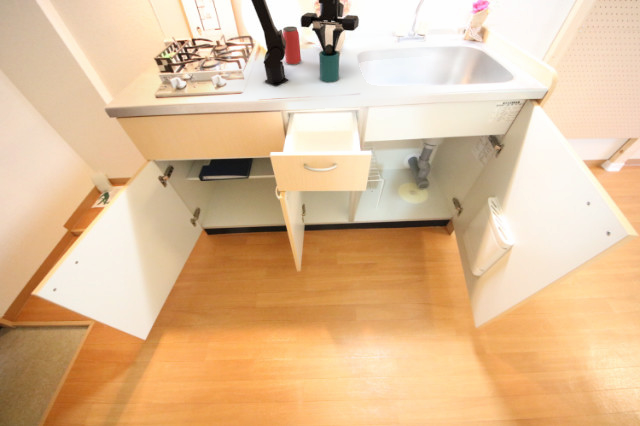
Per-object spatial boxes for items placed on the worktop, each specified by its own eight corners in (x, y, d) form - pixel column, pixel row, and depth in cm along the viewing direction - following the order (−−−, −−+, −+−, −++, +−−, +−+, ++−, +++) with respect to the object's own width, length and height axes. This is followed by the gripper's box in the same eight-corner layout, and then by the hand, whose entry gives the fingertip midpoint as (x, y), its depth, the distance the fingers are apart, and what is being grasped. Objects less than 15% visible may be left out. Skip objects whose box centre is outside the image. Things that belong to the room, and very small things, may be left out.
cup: (349, 54, 108) (350, 27, 100) (323, 58, 105) (323, 32, 98) (337, 46, 115) (338, 20, 108) (314, 50, 112) (312, 24, 105)
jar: (330, 83, 89) (331, 58, 82) (316, 79, 92) (315, 54, 85) (342, 77, 92) (343, 52, 86) (327, 73, 95) (327, 48, 89)
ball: (329, 57, 85) (330, 46, 82) (323, 55, 86) (322, 44, 83) (335, 54, 86) (335, 44, 84) (328, 52, 87) (328, 42, 85)
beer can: (284, 60, 105) (279, 27, 96) (298, 58, 106) (295, 25, 97) (288, 66, 101) (284, 31, 92) (303, 63, 102) (300, 29, 93)
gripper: (365, -12, 75) (360, 46, 88) (311, -13, 80) (313, 42, 92) (355, -4, 69) (351, 57, 81) (297, -7, 74) (302, 51, 86)
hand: (329, 51), depth 85 cm, fingers closed on ball, 3 cm apart
